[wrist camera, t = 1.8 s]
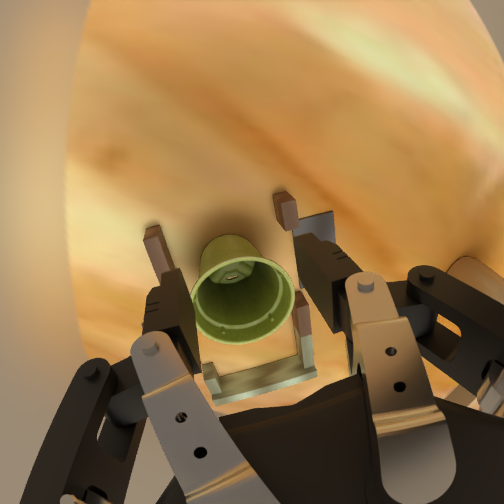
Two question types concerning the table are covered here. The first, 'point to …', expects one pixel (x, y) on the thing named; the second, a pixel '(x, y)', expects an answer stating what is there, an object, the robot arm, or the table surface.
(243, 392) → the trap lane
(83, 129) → the table surface
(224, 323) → the plant pot
